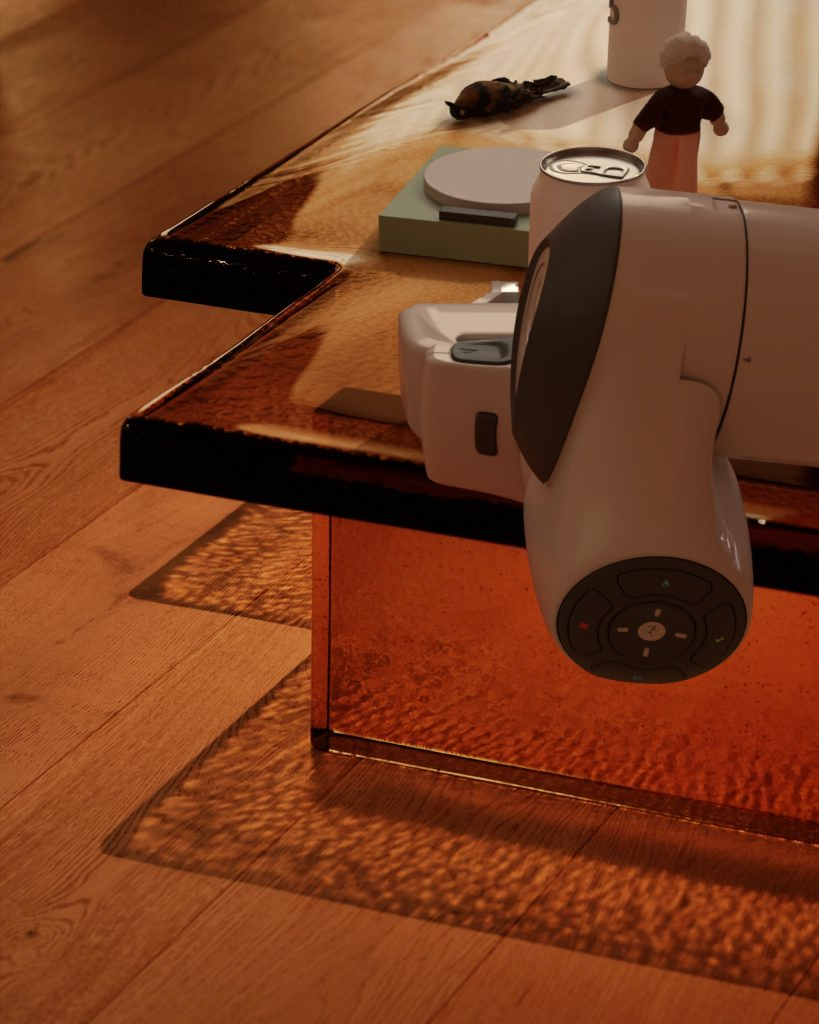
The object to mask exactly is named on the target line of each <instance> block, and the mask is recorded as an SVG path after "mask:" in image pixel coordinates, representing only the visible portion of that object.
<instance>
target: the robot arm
mask: <svg viewBox="0 0 819 1024" xmlns="http://www.w3.org/2000/svg"><path fill="white" fill-rule="evenodd" d="M526 269H527V270H526V271H525V275H524V279H523V283H522V287H521V291H520V282H519V281H517V280H516V281H515V280H512V281H511V280H491V281H490V292H486V293H485V294H484V295H482V296H480V297H478V298H477V299H475V300H474V301H472V302H443V303H442V302H438V303H437V302H420V303H416V304H413V305H410V306H408V307H406V308H404V309H402V310H400V312H399V313H398V315H397V354H398V355H397V357H398V381H399V390H400V397H401V404H402V408H403V411H404V415H405V419H406V422H407V424H408V426H409V428H410V429H411V431H412V432H413V433H414V435H416V436H417V437H418V438H419V439H420V440H421V447H422V456H423V462H424V467H425V473H426V476H427V478H428V480H430V481H431V482H433V483H435V484H438V485H442V486H447V487H453V488H459V489H463V490H470V491H474V492H479V493H485V494H488V495H492V496H493V495H494V496H497V497H500V498H505V499H507V500H511V501H515V502H518V503H521V504H523V514H522V515H523V527H524V529H523V530H524V538H525V547H526V556H527V559H528V560H527V561H528V566H529V567H528V568H529V572H530V576H531V581H532V585H533V590H534V594H535V597H536V601H537V604H538V607H539V611H540V613H541V617H542V619H543V621H544V625H545V626H546V629H547V631H548V633H549V635H550V637H551V638H552V640H553V642H554V643H555V645H556V647H557V648H558V650H560V651H561V653H562V654H563V655H564V656H565V657H566V658H567V659H569V660H570V661H571V662H572V663H573V664H574V665H576V666H577V667H578V668H580V669H582V670H583V671H585V672H586V673H589V674H591V675H594V676H595V677H597V678H601V679H605V680H610V681H615V682H622V683H631V684H644V685H645V684H646V685H664V684H666V685H667V684H675V683H680V682H685V681H687V680H691V679H694V678H696V677H698V676H700V675H703V674H706V673H708V672H710V671H711V670H713V669H716V668H717V667H718V666H720V665H722V664H723V663H724V662H726V661H727V660H728V659H729V658H730V657H732V656H733V655H734V654H735V652H737V650H738V649H739V648H740V647H741V645H742V644H743V642H744V641H745V639H746V637H747V635H748V633H749V631H750V627H751V623H752V617H753V612H754V595H755V594H754V590H755V589H754V586H755V584H754V570H753V569H754V568H753V554H752V547H751V539H750V531H749V526H748V518H747V513H746V509H745V506H744V505H745V504H744V501H743V497H742V493H741V488H740V485H739V482H738V478H737V475H736V473H735V471H734V468H733V466H732V464H731V462H730V460H729V459H733V460H743V461H744V460H745V461H754V462H764V463H772V464H773V463H774V464H782V465H790V466H791V465H792V466H802V467H811V468H813V467H814V468H819V208H814V207H805V206H797V205H788V204H778V203H769V202H759V201H751V200H742V199H737V198H736V197H733V196H730V195H729V196H727V195H719V194H709V193H700V192H697V193H691V192H681V191H671V190H661V189H652V188H641V187H622V186H615V185H610V186H608V187H606V188H603V189H601V190H600V191H598V192H596V193H595V194H593V195H591V196H590V197H588V198H587V199H586V200H584V201H583V202H581V203H580V204H579V205H578V206H577V207H575V208H574V209H573V210H572V211H571V212H570V213H569V214H568V215H567V216H566V217H565V218H564V219H563V220H561V221H560V222H559V223H558V224H557V225H556V226H555V227H554V229H553V230H552V231H551V232H550V233H549V234H548V235H547V236H546V237H545V238H544V239H543V240H542V241H541V242H540V244H539V245H538V247H537V248H536V250H535V252H534V254H533V256H532V259H531V261H530V264H529V266H528V268H526Z"/></svg>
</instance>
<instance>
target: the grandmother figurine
mask: <svg viewBox="0 0 819 1024" xmlns="http://www.w3.org/2000/svg"><path fill="white" fill-rule="evenodd" d="M659 57H660V62H659V66H660V67H661V68H662V69H664V73H665V77H666V79H667V80H668V82H669V83H670V85H668V86H665V87H663V88H657V90H655V91H654V93H653V94H652V95H651V96H650V97H649V99H648V100H647V101H646V103H645V104H644V106H643V107H642V108H641V110H640V111H639V113H637V115H636V116H635V118H634V119H633V121H632V125H631V127H630V129H629V131H628V135H627V138H626V139H624V141H623V143H622V150H624V151H627V152H630V153H633V154H635V153H636V152H637V151H638V149H639V147H640V142H642V141H643V139H644V138H645V136H646V134H647V133H648V132H649V131H651V130H652V129H654V131H653V135H652V136H653V139H652V143H651V147H650V151H649V154H648V160H647V163H646V165H647V169H646V172H645V175H646V178H647V180H648V183H649V185H650V188H652V189H661V190H671V191H681V192H691V193H698V184H699V183H698V182H699V181H698V176H699V175H698V174H699V173H698V158H699V157H698V156H699V149H700V143H701V136H702V135H701V123H702V120H706V121H708V122H709V123H710V125H712V131H713V133H714V135H715V136H717V137H724V136H726V135H727V134H728V133H729V130H730V126H729V124H728V122H727V121H726V115H725V111H724V110H725V106H724V103H722V101H721V100H720V98H719V97H718V96H717V95H716V94H715V93H714V92H712V90H710V89H708V88H705V87H703V86H702V85H697V84H699V83H700V82H701V80H702V79H703V76H704V74H705V73H704V72H705V68H707V66H708V65H709V63H710V61H711V59H712V52H711V49H710V47H709V44H708V43H707V41H705V40H703V39H701V37H700V36H699V35H698V34H697V35H696V34H693V35H692V34H691V32H689V31H687V30H685V32H682V33H679V34H677V35H673V36H672V37H670V38H669V39H667V40H666V41H665V44H664V45H663V46H662V48H661V50H660V51H659Z"/></svg>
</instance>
